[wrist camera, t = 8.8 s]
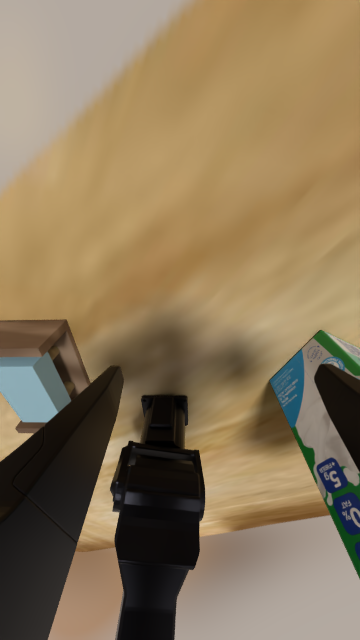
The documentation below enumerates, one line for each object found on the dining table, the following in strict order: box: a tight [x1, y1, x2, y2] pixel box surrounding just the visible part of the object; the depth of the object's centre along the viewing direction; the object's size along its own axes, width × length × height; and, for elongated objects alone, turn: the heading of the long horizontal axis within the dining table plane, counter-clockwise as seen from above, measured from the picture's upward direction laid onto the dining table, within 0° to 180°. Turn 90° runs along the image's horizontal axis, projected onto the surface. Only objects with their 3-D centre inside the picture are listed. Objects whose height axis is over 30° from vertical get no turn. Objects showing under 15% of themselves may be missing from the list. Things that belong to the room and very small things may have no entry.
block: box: [0, 351, 71, 422], centre depth 23 cm, size 9×5×2 cm, turn 2°
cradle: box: [0, 320, 90, 433], centre depth 24 cm, size 14×8×5 cm, turn 2°
